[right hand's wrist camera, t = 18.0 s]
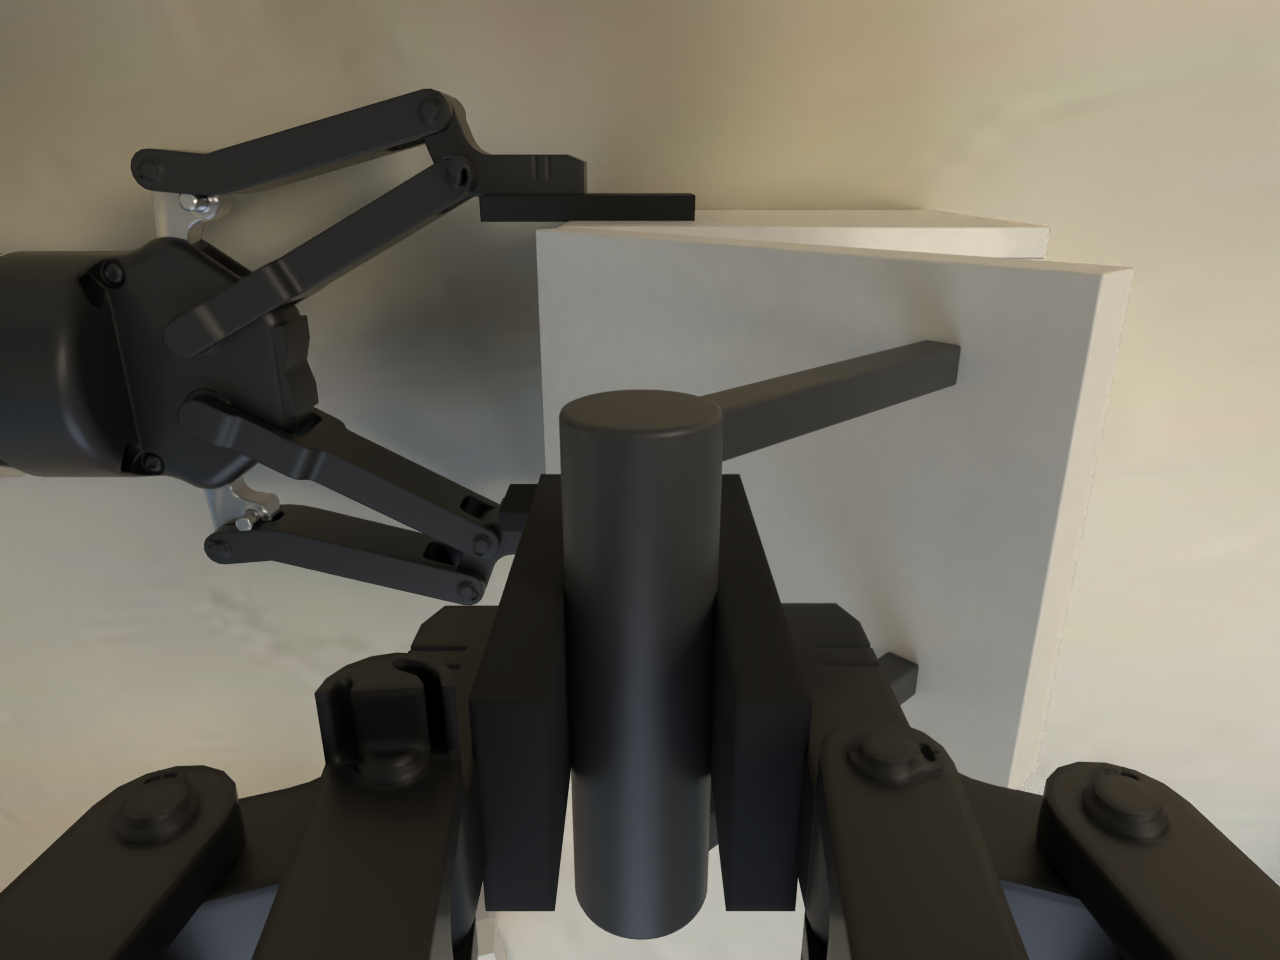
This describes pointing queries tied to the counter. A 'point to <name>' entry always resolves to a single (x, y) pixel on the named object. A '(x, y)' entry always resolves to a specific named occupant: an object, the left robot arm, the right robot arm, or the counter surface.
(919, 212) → the chest
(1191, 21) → the counter surface
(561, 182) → the left robot arm
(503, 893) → the right robot arm
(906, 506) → the lid
